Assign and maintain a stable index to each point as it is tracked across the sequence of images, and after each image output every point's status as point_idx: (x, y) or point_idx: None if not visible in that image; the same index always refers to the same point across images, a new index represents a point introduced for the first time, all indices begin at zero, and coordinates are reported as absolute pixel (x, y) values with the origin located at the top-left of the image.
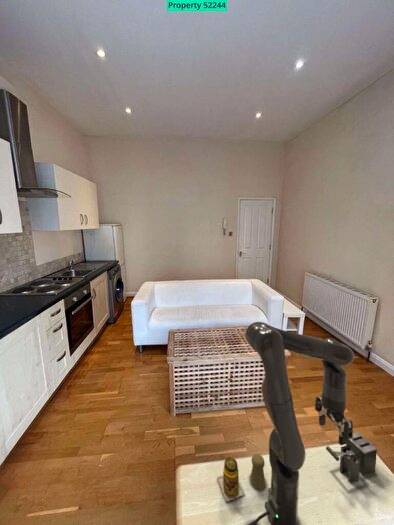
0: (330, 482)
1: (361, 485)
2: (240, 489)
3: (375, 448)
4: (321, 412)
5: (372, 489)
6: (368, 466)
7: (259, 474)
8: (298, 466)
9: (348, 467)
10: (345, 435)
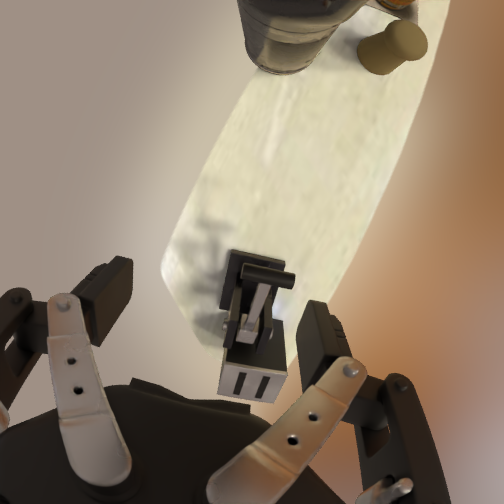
0: (270, 232)
1: None
2: (379, 8)
3: (219, 392)
4: (328, 404)
5: (209, 304)
6: None
7: (379, 35)
8: None
9: None
10: (6, 308)
